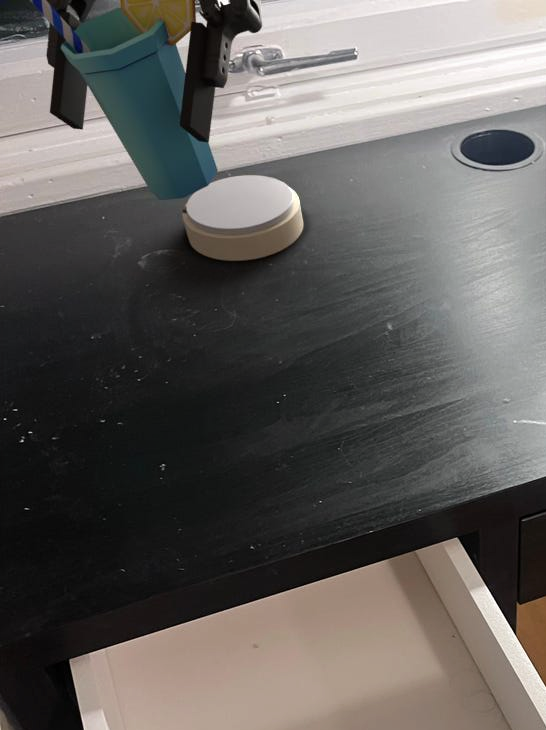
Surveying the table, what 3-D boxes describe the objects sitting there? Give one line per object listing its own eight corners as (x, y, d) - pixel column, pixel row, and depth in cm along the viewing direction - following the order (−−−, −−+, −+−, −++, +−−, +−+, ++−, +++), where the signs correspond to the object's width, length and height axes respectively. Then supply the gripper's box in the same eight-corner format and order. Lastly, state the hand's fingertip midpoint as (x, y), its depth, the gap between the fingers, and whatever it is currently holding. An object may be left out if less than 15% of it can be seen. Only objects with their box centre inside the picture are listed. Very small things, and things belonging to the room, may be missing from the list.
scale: (169, 255, 93) (160, 224, 91) (217, 197, 99) (209, 167, 97) (278, 268, 91) (272, 237, 89) (319, 208, 98) (315, 178, 95)
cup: (81, 237, 72) (-47, 13, 60) (88, 186, 77) (-28, -30, 65) (263, 182, 71) (170, -55, 60) (259, 134, 76) (172, -94, 65)
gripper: (344, -185, 67) (298, 163, 70) (57, -195, 71) (25, 135, 74) (302, -274, 59) (252, 119, 62) (-16, -280, 63) (-48, 90, 66)
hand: (129, 127), depth 68 cm, fingers closed on cup, 9 cm apart
